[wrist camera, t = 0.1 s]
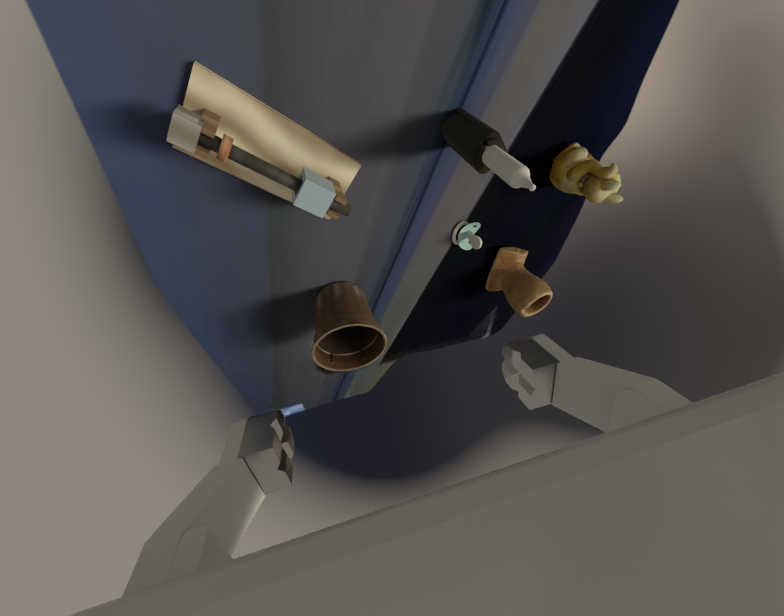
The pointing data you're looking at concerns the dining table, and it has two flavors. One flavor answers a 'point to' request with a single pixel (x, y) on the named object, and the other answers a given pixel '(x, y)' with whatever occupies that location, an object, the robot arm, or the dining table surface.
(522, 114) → the dining table surface
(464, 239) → the pacifier
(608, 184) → the decorative figurine
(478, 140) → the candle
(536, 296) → the brown clay boot vase
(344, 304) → the plant pot
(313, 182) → the marker sleeve
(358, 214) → the dining table surface
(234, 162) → the cord stand
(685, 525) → the robot arm
